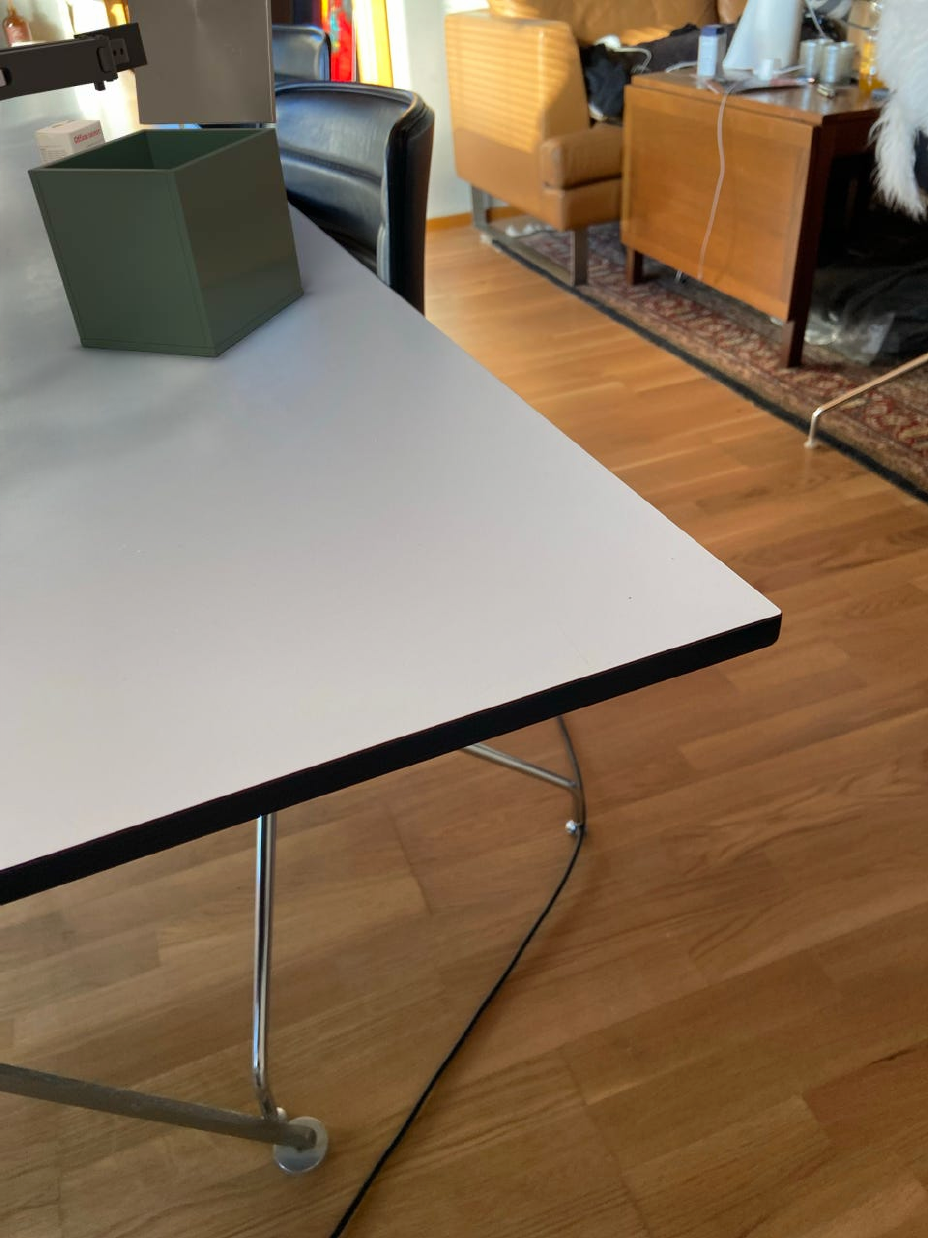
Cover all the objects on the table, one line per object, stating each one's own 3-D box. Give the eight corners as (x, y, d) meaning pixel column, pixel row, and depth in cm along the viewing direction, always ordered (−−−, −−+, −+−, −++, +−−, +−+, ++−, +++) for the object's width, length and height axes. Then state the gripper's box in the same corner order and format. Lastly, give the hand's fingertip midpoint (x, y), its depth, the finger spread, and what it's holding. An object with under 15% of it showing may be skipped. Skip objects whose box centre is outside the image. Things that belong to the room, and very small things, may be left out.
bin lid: (261, -110, 83) (265, -108, 83) (118, -96, 87) (123, -94, 88) (272, 122, 89) (276, 123, 90) (139, 123, 94) (143, 124, 95)
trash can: (216, 357, 87) (173, 171, 78) (82, 346, 91) (26, 170, 82) (303, 294, 99) (275, 127, 90) (181, 287, 104) (142, 128, 95)
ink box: (96, 232, 125) (67, 131, 118) (61, 233, 125) (30, 132, 118) (126, 214, 131) (101, 116, 124) (93, 215, 132) (65, 118, 125)
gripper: (-275, 165, 65) (-44, 104, 81) (24, 166, 57) (215, 98, 73) (-338, 34, 61) (-81, -3, 77) (-22, 16, 53) (191, -22, 69)
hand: (64, 46), depth 75 cm, fingers open, 13 cm apart
